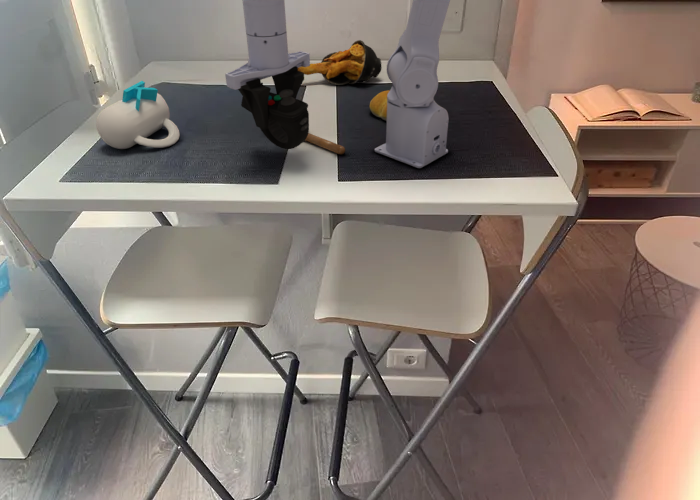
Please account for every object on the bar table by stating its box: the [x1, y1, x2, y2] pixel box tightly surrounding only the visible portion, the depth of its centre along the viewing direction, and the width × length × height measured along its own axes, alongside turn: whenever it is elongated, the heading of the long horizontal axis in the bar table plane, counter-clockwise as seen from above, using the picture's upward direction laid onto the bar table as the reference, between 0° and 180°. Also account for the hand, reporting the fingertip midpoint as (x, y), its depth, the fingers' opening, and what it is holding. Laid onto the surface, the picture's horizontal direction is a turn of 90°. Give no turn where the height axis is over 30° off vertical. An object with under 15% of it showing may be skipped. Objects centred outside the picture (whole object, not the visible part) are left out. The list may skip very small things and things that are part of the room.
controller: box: [240, 89, 310, 150], centre depth 88 cm, size 4×12×10 cm, turn 50°
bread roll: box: [369, 89, 391, 122], centre depth 106 cm, size 8×9×4 cm
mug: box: [95, 80, 181, 150], centre depth 95 cm, size 12×9×12 cm
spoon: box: [304, 132, 346, 155], centre depth 97 cm, size 17×6×1 cm, turn 47°
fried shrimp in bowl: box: [298, 39, 383, 86], centre depth 118 cm, size 9×11×18 cm
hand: (274, 122), depth 88 cm, fingers closed on controller, 4 cm apart
